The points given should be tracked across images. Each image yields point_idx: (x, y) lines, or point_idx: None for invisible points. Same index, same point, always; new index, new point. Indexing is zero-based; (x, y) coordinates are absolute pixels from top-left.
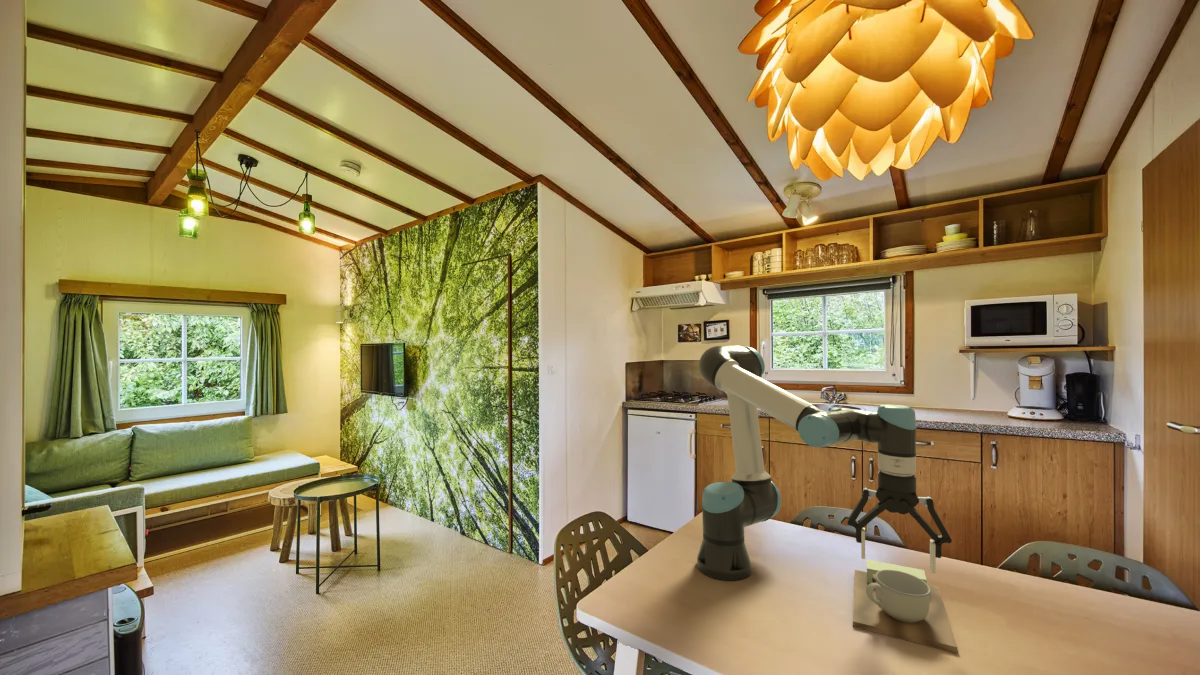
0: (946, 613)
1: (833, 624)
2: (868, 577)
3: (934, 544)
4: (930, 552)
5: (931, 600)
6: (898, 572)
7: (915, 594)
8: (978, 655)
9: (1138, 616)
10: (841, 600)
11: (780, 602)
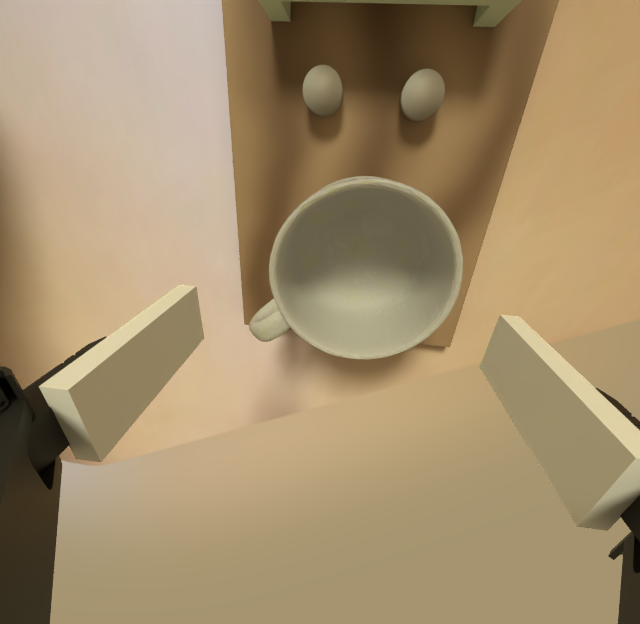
0: (502, 175)
1: (212, 324)
2: (269, 10)
3: (599, 525)
4: (543, 409)
5: (492, 80)
6: (366, 187)
7: (415, 204)
8: (490, 332)
9: None
10: (209, 196)
11: (90, 276)
